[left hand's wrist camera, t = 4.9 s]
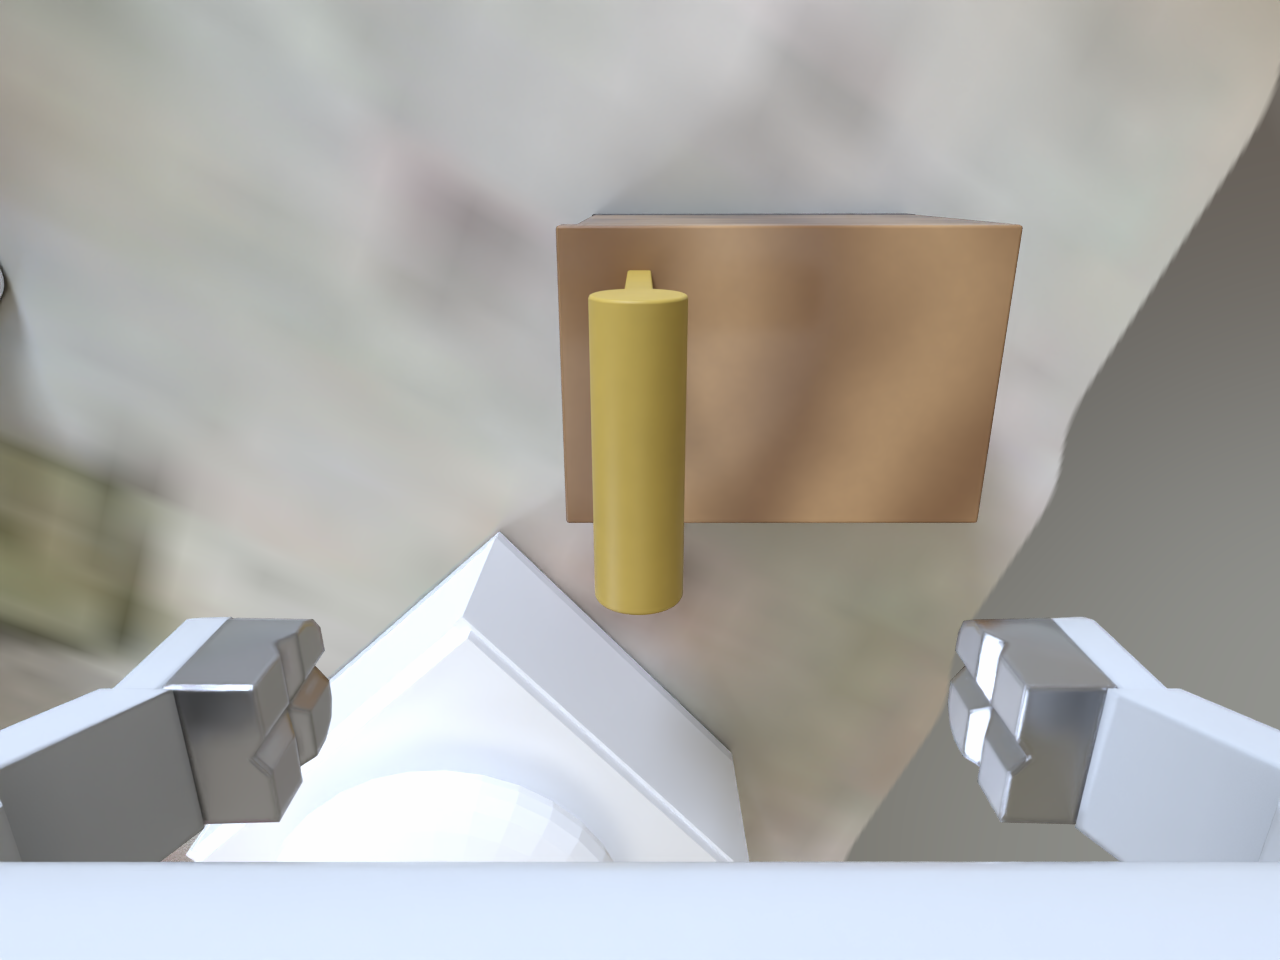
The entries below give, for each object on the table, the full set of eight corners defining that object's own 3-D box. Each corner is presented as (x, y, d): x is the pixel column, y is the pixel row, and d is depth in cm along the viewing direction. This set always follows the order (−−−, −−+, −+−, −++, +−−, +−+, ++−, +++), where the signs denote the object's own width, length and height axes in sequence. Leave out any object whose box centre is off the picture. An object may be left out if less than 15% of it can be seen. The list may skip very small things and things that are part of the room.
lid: (568, 511, 27) (535, 657, 19) (558, 224, 24) (513, 243, 16) (965, 511, 27) (1112, 657, 19) (1008, 223, 24) (1209, 241, 16)
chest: (598, 430, 37) (583, 511, 28) (593, 214, 34) (575, 223, 24) (883, 429, 37) (965, 511, 27) (906, 213, 33) (1008, 222, 24)
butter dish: (498, 530, 38) (406, 749, 23) (738, 759, 43) (790, 1064, 28) (265, 734, 42) (60, 1031, 27) (507, 923, 47) (445, 1267, 32)
